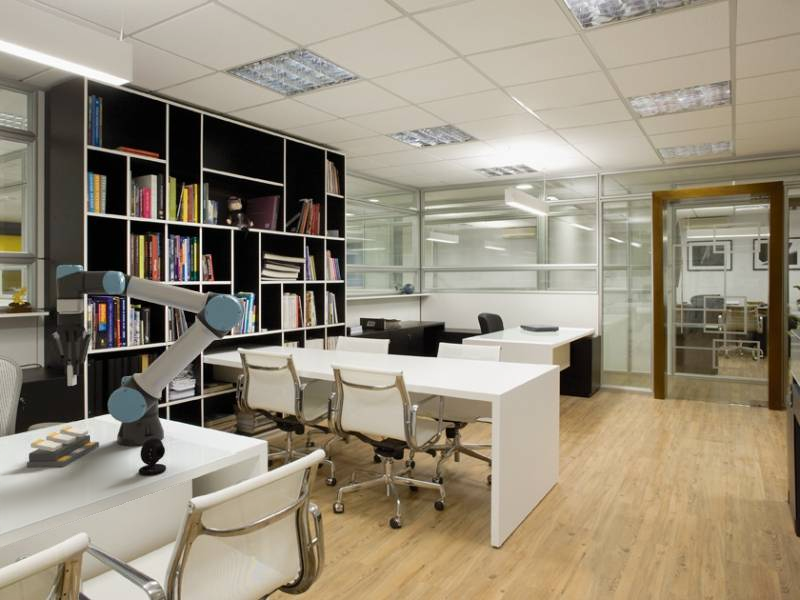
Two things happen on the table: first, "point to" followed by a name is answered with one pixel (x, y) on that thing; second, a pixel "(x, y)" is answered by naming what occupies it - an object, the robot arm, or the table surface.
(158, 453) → the webcam
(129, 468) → the table surface
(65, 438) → the rocker
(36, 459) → the switch panel
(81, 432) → the rocker
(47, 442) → the rocker
